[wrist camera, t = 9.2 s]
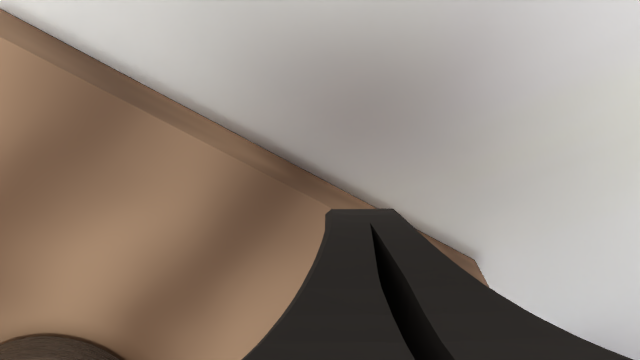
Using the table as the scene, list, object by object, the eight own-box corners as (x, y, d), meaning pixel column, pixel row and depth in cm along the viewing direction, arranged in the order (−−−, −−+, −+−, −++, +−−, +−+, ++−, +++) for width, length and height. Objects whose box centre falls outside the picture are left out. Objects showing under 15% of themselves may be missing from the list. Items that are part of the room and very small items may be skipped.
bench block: (474, 260, 23) (490, 290, 21) (246, 535, 30) (244, 576, 28) (-3, 7, 18) (-35, 19, 16) (-154, 406, 25) (-188, 446, 23)
